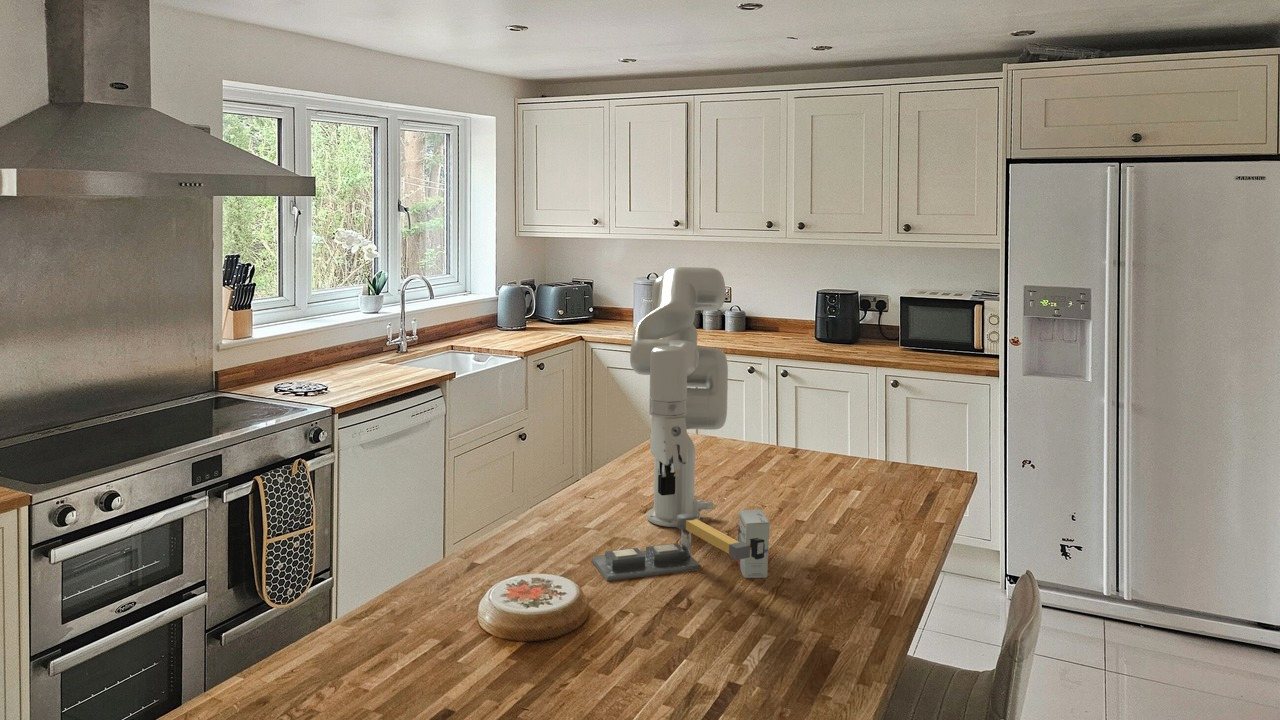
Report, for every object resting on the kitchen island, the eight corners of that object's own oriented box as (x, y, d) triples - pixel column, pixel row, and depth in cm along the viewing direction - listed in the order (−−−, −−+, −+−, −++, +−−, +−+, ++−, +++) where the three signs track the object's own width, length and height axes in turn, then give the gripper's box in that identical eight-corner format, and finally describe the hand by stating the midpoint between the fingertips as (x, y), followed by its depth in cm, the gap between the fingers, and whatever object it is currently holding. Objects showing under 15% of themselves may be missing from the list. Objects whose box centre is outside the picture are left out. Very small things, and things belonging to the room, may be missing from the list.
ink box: (736, 562, 204) (737, 508, 202) (759, 562, 204) (761, 508, 202) (744, 578, 195) (745, 522, 193) (767, 578, 196) (770, 522, 194)
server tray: (680, 550, 210) (681, 519, 209) (700, 569, 200) (701, 536, 198) (591, 561, 203) (591, 529, 202) (607, 581, 193) (607, 547, 192)
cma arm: (673, 525, 204) (673, 514, 203) (689, 522, 206) (689, 511, 205) (734, 560, 185) (734, 548, 185) (751, 557, 187) (751, 545, 187)
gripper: (699, 414, 191) (697, 503, 195) (672, 398, 205) (670, 481, 209) (663, 416, 189) (662, 506, 192) (638, 400, 203) (637, 484, 206)
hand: (666, 493), depth 200 cm, fingers closed
